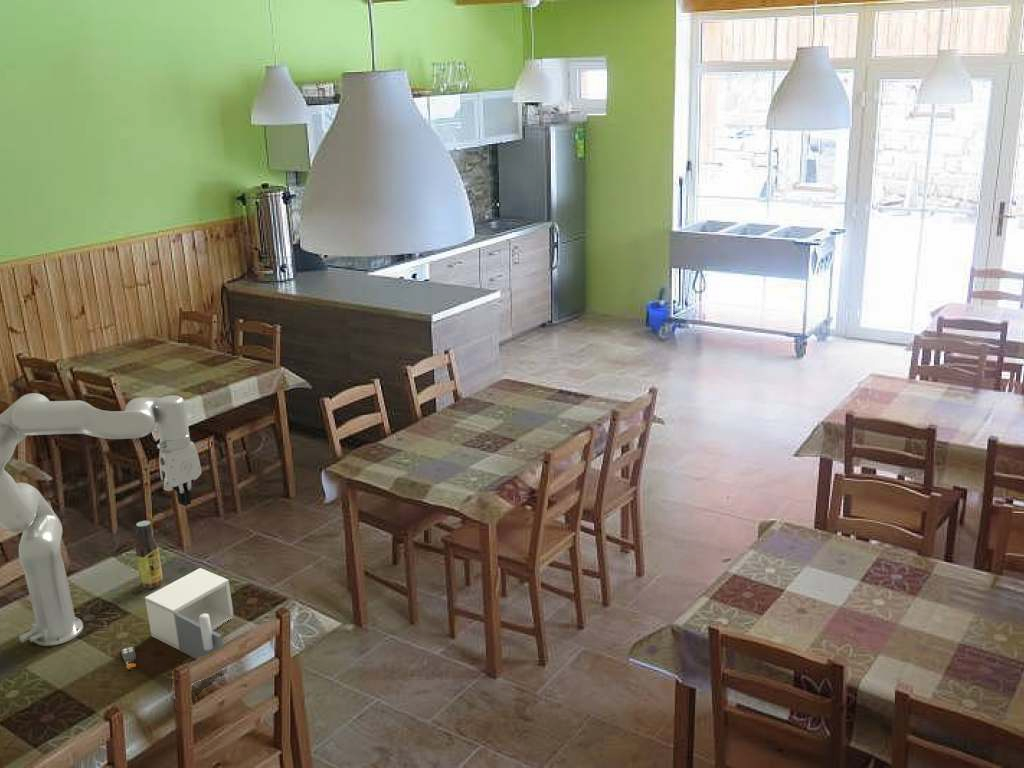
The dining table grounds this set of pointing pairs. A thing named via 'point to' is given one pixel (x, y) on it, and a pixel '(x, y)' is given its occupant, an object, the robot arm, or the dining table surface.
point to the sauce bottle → (148, 557)
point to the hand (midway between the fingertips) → (185, 503)
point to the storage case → (189, 603)
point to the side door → (197, 636)
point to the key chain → (129, 656)
